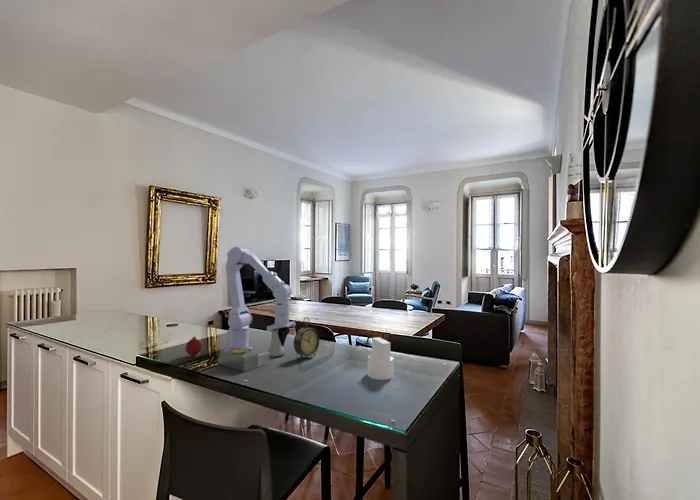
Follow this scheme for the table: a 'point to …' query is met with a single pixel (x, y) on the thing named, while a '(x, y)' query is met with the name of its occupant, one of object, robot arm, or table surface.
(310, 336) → the alarm clock
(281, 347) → the flask
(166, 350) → the table surface
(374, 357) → the base with upright slab
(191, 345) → the onion
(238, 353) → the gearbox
